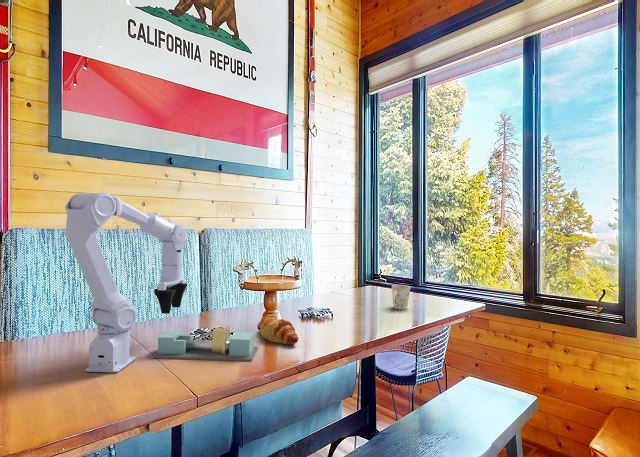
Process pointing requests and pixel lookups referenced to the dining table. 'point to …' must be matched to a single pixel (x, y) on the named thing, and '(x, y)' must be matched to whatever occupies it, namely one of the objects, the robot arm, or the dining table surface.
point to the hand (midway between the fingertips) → (171, 310)
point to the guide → (175, 348)
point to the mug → (400, 296)
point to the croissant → (279, 331)
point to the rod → (212, 342)
